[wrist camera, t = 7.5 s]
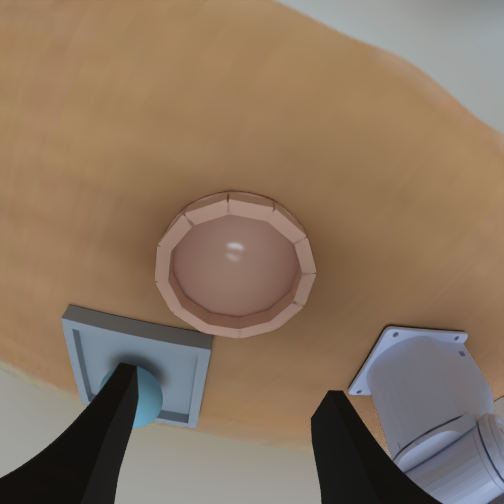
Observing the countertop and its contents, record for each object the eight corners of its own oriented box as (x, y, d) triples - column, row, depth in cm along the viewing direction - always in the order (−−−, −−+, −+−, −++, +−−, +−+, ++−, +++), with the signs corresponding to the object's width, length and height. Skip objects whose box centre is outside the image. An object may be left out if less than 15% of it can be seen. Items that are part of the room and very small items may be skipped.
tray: (212, 334, 23) (211, 350, 21) (197, 415, 28) (196, 428, 26) (69, 304, 21) (61, 317, 20) (87, 391, 26) (82, 403, 25)
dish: (329, 209, 18) (336, 220, 17) (287, 329, 23) (290, 345, 21) (169, 178, 17) (162, 186, 16) (156, 309, 22) (151, 324, 20)
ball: (169, 359, 23) (160, 413, 19) (164, 395, 25) (157, 444, 21) (106, 345, 22) (88, 395, 18) (108, 383, 25) (95, 429, 20)
